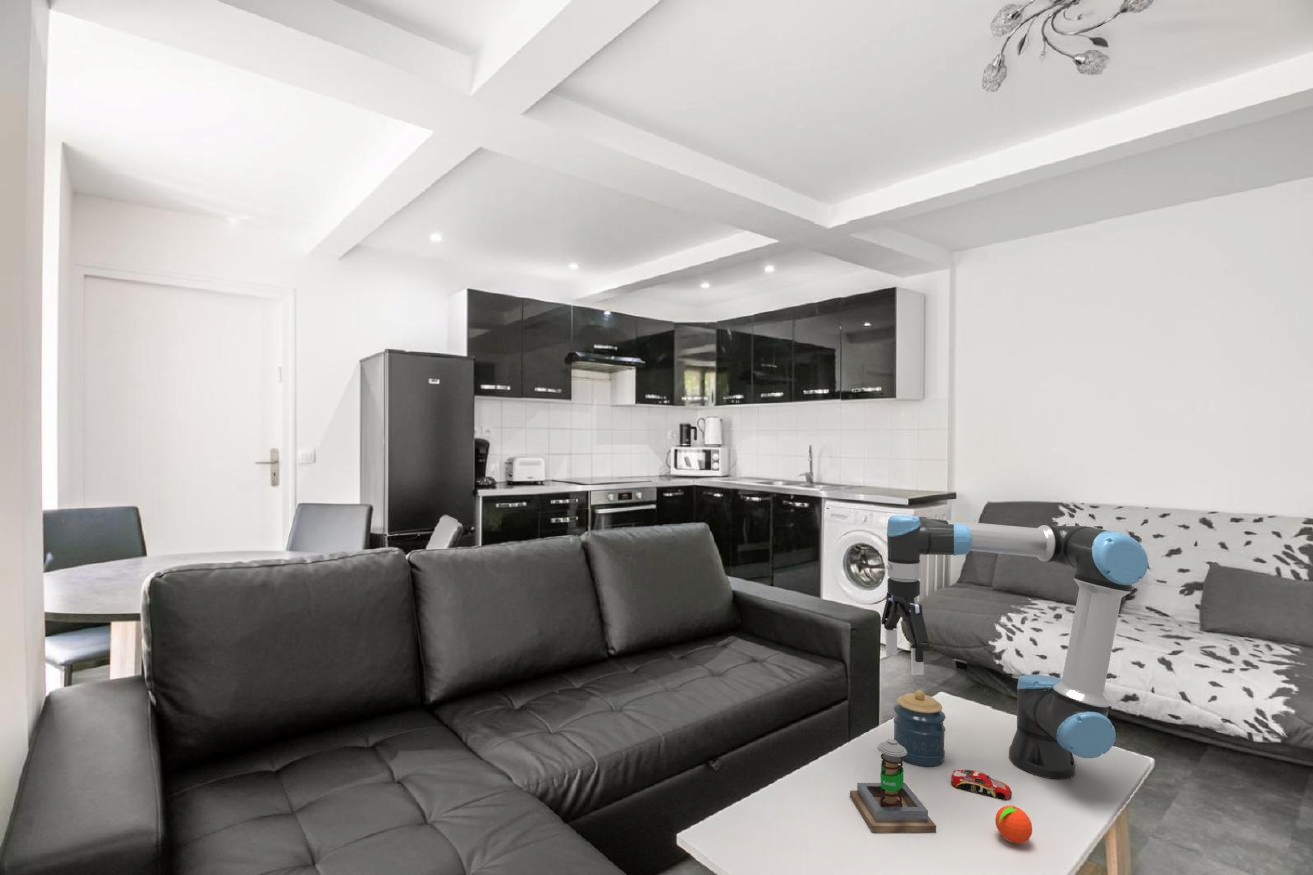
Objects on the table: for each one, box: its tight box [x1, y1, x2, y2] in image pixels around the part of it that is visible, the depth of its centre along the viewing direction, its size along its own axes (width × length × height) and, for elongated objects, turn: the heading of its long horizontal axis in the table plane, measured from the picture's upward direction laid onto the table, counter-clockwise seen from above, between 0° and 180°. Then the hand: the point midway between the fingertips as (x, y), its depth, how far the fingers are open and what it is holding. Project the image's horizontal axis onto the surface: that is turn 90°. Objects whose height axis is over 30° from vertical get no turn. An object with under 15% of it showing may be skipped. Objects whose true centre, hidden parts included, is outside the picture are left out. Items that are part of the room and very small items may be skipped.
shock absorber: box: [876, 738, 907, 807], centre depth 145 cm, size 6×6×15 cm
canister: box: [893, 689, 946, 767], centre depth 173 cm, size 13×13×18 cm
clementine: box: [995, 805, 1033, 844], centre depth 136 cm, size 8×7×7 cm
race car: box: [950, 769, 1013, 801], centre depth 156 cm, size 13×5×4 cm, turn 61°
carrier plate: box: [849, 790, 937, 834], centre depth 145 cm, size 14×14×2 cm
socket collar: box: [856, 782, 929, 823], centre depth 145 cm, size 12×12×2 cm
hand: (903, 664), depth 157 cm, fingers open, 13 cm apart
